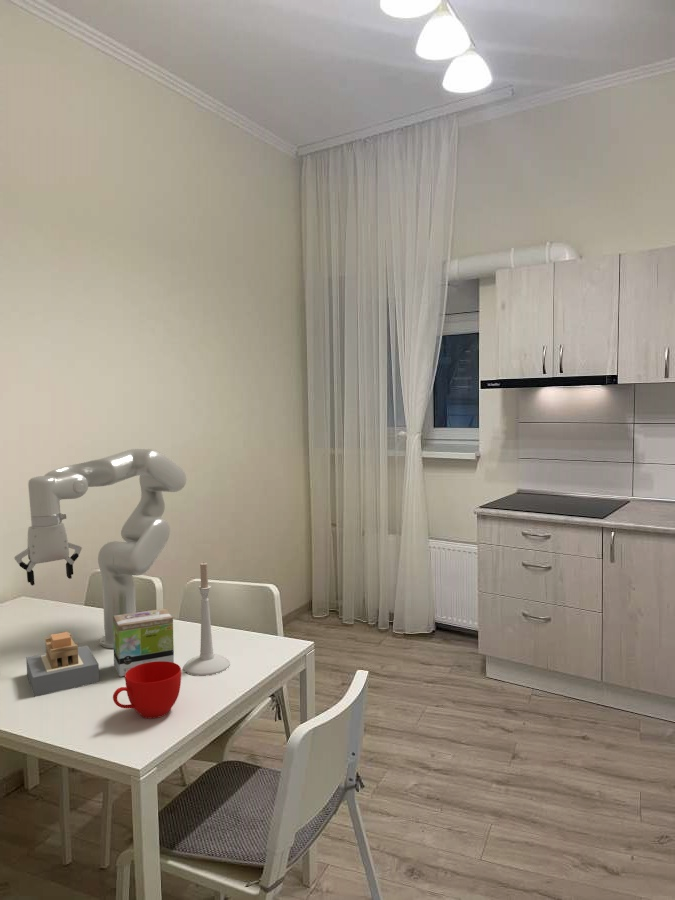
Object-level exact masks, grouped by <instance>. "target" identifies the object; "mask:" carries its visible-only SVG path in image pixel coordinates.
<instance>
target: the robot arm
mask: <svg viewBox="0 0 675 900" xmlns="http://www.w3.org/2000/svg"><path fill="white" fill-rule="evenodd" d="M186 475H187V474H186V473H185V470H183V467H181V466H180V465H178V464H177V463H176V462H175V461H173V460H172V459H170V458H169V457H167V456H166V455H165V454H163V453H161V452H159V451H158V450H156V449H152V448H150V449H149V448H148V449H146V448H132V449H127V450H125V451H121V452H119V453H115V454H112V455H109V456H106V457H102V458H98V459H93V460H89V461H86V462H85V461H84V462H79V463H75V464H70V465H66V466H63V467H59V468H56V469H53V470H51V471H48V472H47V473H45V474H44V475H41V476H34V477H32V478H30V479H29V480H28V484H27V485H28V497H29V509H30V522H31V523H30V524H31V526H29V527H28V530H27V548H26V549H24V550H23V551H21V552H20V553H17V554H16V555H15V556H14V557H13V559H14V560H15V561H16V563H17V564H18V566H19V567H20V568H22V569H24V570H25V571H26V578H27V583H29V584H30V585H31V586H35V574H34V570H33V569H34V567H35V566H36V564H44V563H50V562H54V561H56V562H57V561H60V560H61V561H63V560H64V561H66V563H65V571H66V574H65V575H66V577H67V578H68V580H70V579H73V577H72V576H73V575H74V563H75V561H77V559H78V558H79V557H80V553H81V551H82V549H83V547H82V546H80V545H79V544H78V545H77V544H74V543H71V542H69V541H68V536H67V532H66V531H67V530H66V526H65V524H64V523H63V520H66V519H67V514H65V513H64V514H62V513H61V504H60V503H61V501H63V500H73V499H74V500H75V499H79V498H82V497H83V496H84V495H85V494H86V493H87V491H88V489H89V488H92V487H93V488H95V487H106V486H112V485H114V484H117V483H120V482H122V481H125V480H129V479H130V478H134V477H137V476H139V479H138V480H139V485H140V491H141V494H140V500H139V501H138V504H137V505H136V507H135V508H134V510H133V511H132V512H131V514H130V516H129V517H127V519H126V521H125V522H124V524H123V526H122V528H121V530H120V535H121V539H122V540H123V541H117V540H116V541H115V540H113V541H110V542H109V541H108V542H107V543H105V544H104V545H103V546H101V548H100V549H99V552H98V556H97V562H98V567H99V568H98V569H99V571H100V576H101V582H102V602H103V624H104V636H101V638H100V639H99V645H100V646H101V647H103V648H106V649H114V643H113V616H115V615H123V614H130V613H137V610H136V609H137V608H136V585H135V579H134V577H133V576H142V575H145V574H146V573H147V572H148V571H149V570H150V569H151V568H152V566H153V564H154V563H155V562H156V559H158V557H159V556H160V554H161V552H162V550H163V549H164V547H165V546H166V545H167V542H168V541H169V538H170V532H171V529H170V525H169V523H168V522H167V520H166V519H164V518H162V516H163V514H164V512H165V509H166V504H165V500H164V494H163V492H166V493H177V492H179V491H181V490H183V488H184V487H185V485H186V484H187V476H186ZM70 549H72V550H74V551H73V554H72V555H71V556H70ZM26 556H27V559H28V560H29V561H28V562H27V563H25V562H24V560H22V559H23V558H25V557H26Z"/></svg>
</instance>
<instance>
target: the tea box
mask: <svg viewBox="0 0 675 900" xmlns="http://www.w3.org/2000/svg"><path fill="white" fill-rule="evenodd" d="M113 643H114V648H113V666H114V667H115V669H116V672H117V674H118V675H119V677H120V678H121V677H125V674H126V672H127V671H128V670H130V669H131V668H133V667H135V666H138V665H140V664H144V663H148V662H157V661H166V662H173V663H175V662H174V661H175V654H174V653H175V652H174V651H175V650H174V649H175V648H174V644H175V643H174V618H173V616H172V614H171V613H170V612H169V611H168V610H167V609H166V608H158V609H151V610H144V611H138V612H137V611H136V613H130V614H123V615H115V616H113Z"/></svg>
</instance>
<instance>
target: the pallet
mask: <svg viewBox="0 0 675 900" xmlns="http://www.w3.org/2000/svg"><path fill="white" fill-rule="evenodd" d="M69 635H70V637H71V646H65V647H60V648H55V649H53V647H52V645H51V636H49V637H45V638H44V639H45V654H46V657H47V659H48V661H49V664H50V666H51V668H52V669H55V668H58V666H57V658H59V661H60V663H61V665H62V667H65V666H68V656H69V658H70V660H71V662H72V664H73V665H75V664H79V663H78V647H79V646H78V644H75V641H74V640H73V638H72V633H71V632H70V633H69Z"/></svg>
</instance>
